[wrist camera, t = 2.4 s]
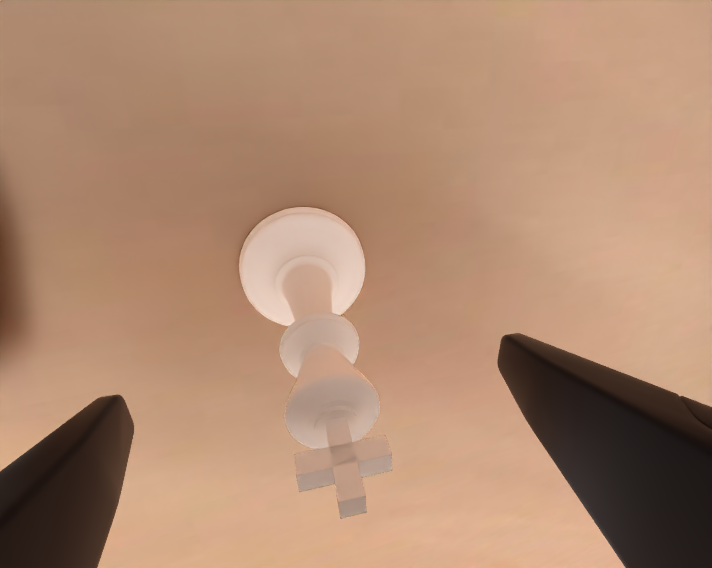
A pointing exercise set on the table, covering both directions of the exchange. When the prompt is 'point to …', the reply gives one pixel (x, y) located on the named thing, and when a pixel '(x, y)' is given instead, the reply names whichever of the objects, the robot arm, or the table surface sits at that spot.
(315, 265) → the chess piece
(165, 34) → the table surface
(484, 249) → the table surface
